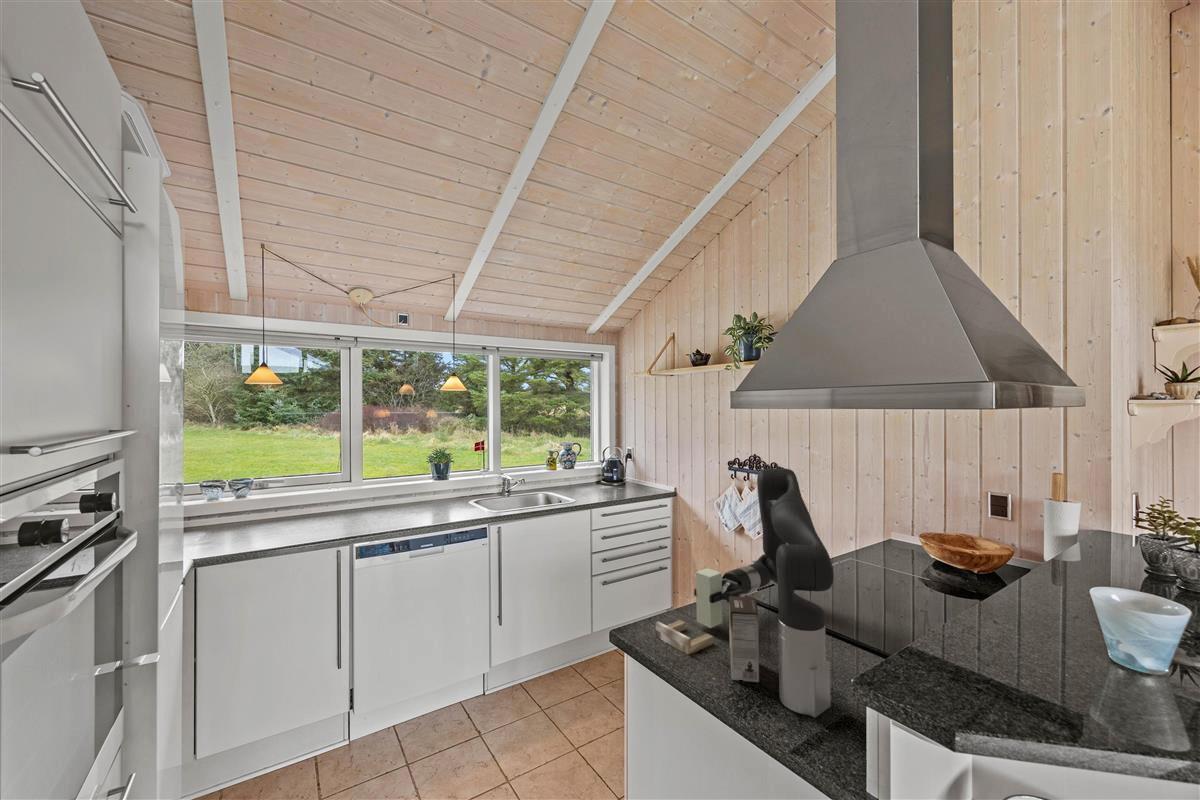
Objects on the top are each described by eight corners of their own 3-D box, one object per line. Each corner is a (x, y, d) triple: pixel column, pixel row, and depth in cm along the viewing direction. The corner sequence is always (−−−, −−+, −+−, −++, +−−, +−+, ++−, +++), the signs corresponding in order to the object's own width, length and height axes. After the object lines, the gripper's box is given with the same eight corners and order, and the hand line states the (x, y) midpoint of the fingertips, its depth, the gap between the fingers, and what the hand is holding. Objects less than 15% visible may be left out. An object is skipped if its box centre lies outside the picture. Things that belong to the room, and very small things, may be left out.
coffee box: (729, 659, 122) (728, 594, 122) (756, 661, 120) (755, 596, 120) (731, 680, 113) (730, 610, 113) (760, 683, 111) (759, 612, 111)
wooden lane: (712, 643, 129) (712, 628, 129) (688, 655, 124) (688, 639, 124) (680, 627, 139) (679, 612, 139) (655, 636, 134) (655, 622, 134)
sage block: (722, 622, 137) (721, 572, 137) (710, 628, 134) (709, 577, 134) (708, 616, 141) (707, 568, 141) (696, 621, 138) (695, 572, 138)
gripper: (722, 562, 152) (683, 575, 142) (762, 575, 140) (722, 590, 130) (722, 586, 152) (683, 601, 142) (762, 601, 140) (723, 618, 130)
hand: (702, 596), depth 136 cm, fingers closed on sage block, 5 cm apart
